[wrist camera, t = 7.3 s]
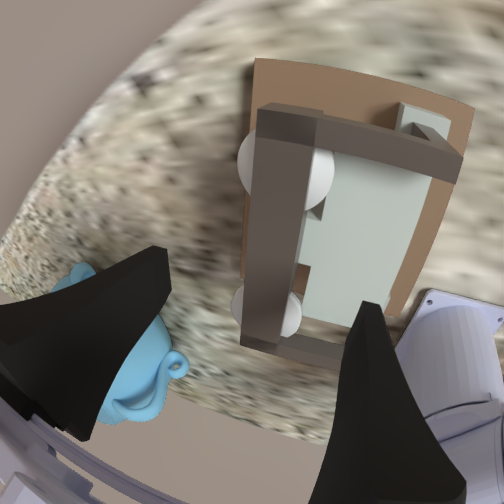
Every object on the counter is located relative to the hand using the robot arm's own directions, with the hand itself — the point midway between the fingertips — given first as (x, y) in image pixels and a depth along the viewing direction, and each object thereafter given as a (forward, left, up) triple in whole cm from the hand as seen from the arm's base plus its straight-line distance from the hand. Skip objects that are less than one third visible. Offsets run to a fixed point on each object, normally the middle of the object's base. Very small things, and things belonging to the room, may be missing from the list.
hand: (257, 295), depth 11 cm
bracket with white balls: (0, -2, -7) cm, 7 cm away
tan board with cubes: (0, -2, -10) cm, 11 cm away
